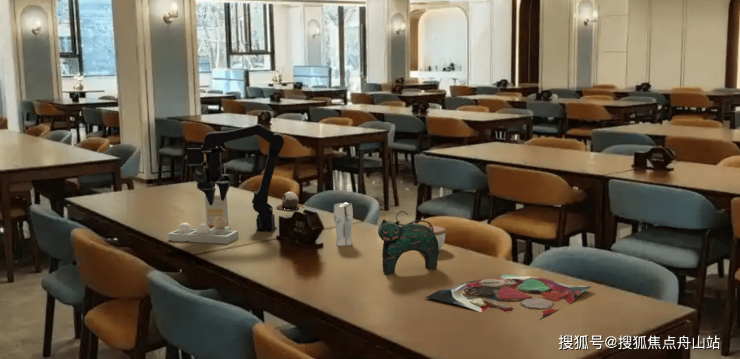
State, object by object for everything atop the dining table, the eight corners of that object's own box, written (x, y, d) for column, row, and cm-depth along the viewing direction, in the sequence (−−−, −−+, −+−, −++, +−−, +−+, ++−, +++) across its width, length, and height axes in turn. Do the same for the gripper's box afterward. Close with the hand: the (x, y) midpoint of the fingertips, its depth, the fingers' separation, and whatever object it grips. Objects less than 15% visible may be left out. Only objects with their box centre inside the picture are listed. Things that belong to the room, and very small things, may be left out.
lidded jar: (443, 254, 281) (443, 228, 280) (413, 253, 284) (412, 227, 282) (447, 247, 292) (446, 221, 290) (417, 246, 294) (417, 221, 292)
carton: (238, 238, 314) (237, 222, 313) (227, 243, 305) (226, 227, 304) (180, 235, 321) (179, 219, 320) (168, 240, 313) (167, 224, 312)
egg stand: (231, 231, 325) (230, 226, 325) (223, 235, 319) (223, 230, 319) (216, 230, 327) (216, 226, 327) (209, 234, 321) (208, 229, 321)
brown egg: (228, 228, 325) (228, 215, 324) (222, 231, 320) (222, 218, 319) (217, 227, 326) (216, 214, 325) (211, 230, 321) (210, 217, 320)
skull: (270, 205, 372) (283, 187, 375) (286, 218, 377) (299, 200, 379) (279, 208, 362) (293, 190, 364) (296, 222, 366) (309, 203, 368)
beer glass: (351, 247, 295) (350, 206, 293) (332, 246, 297) (331, 206, 294) (355, 242, 302) (354, 202, 300) (337, 242, 303) (336, 202, 301)
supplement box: (228, 223, 340) (227, 193, 338) (225, 226, 335) (223, 195, 333) (209, 224, 341) (207, 193, 338) (206, 226, 336) (204, 195, 334)
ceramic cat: (381, 276, 257) (380, 214, 254) (376, 271, 263) (374, 210, 260) (440, 270, 262) (440, 209, 259) (434, 265, 268) (433, 205, 265)
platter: (491, 273, 258) (491, 268, 258) (593, 293, 236) (593, 287, 235) (424, 300, 233) (424, 294, 233) (531, 325, 210) (531, 318, 210)
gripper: (208, 160, 332) (211, 197, 334) (183, 167, 314) (186, 207, 317) (232, 160, 328) (235, 198, 331) (208, 167, 311) (211, 207, 313)
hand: (217, 202), depth 323 cm, fingers open, 9 cm apart
